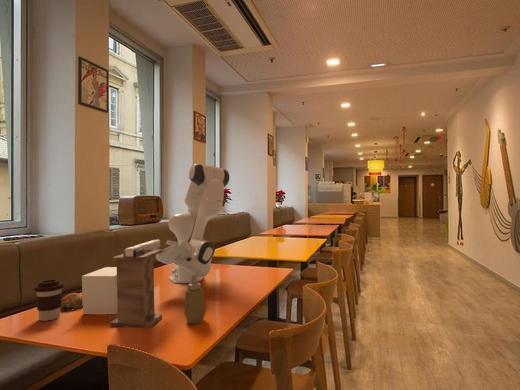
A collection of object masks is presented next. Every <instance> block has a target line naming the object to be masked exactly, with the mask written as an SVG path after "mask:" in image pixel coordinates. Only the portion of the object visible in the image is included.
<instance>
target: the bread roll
mask: <svg viewBox="0 0 520 390" xmlns="http://www.w3.org/2000/svg"><path fill="white" fill-rule="evenodd" d="M82 306H83V302H82V295H81V294H79V293H77V292H73V293H68V294H66V295H65V296H62V300H61V307H60V311H64V310H68V311H73V310H72V309H74V310H77V308H78V309H80V308H83V307H82Z"/></svg>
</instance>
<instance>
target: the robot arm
mask: <svg viewBox="0 0 520 390" xmlns="http://www.w3.org/2000/svg"><path fill="white" fill-rule="evenodd" d="M188 177H189V180H190V183H189V185H188V188H187V192H186V196H185V199H184V203H185V205H186V206H187V208H188V209H187V212H179V213H175V214H173V215H171V216H170V217H169V219H168V221H167V225H168V228H169V230H170V231H171V232H172V233H173V234H174V235H175V237H176V239H177V241H174V240H171V239H168V240H166V241H165V244H166V245H168V246H167V247H166V248H163V249H161V250H162V252H161V253H159V254H157V255H155V260H156V261H158V262H161V263H163V264H166V265H169V264H170V265H171V264H173V263H174V266H173V268H172V269H171V275H169V276H168V280H170V281H171V282H172V283H174V284H190V283H191V281H192V275H193V274H196V278H197V282H198V283H199V282H201V281H202V280H203V279H204V278H205V277H206V276H207V275H208V274H210V272H211V269H212V265H211V264H212V263H211V262H212V259H213V256H214V255H215V251H216V246H215V245H214V244H213V242H211V241H208V240H206V239H204V233H205V230H206V226H207V224H208V222H209V220H211V219H213V218H215V217H217V216H219V214H221V211H222V208H223V202H224V195H225V187H227V185H228V184H229V181H230V173H229V171H228V170H227V169H224V168H220V167H218V166H214V165H209V164H202V163H194V164H192V165H191V166H190V169H189V172H188ZM153 250H160V247H158V248H155V249H153Z"/></svg>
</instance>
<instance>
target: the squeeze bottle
mask: <svg viewBox="0 0 520 390" xmlns="http://www.w3.org/2000/svg"><path fill="white" fill-rule="evenodd" d="M187 284H188V288H187V290H186V292H185V299H184V300H185V301H184V312H183V313H184V316H185V319H186V321H187V323H188V324H190V325H193V324H194V325H195V324H200V323H202V322H203V321H204V319H205V317H206V316H205V315H206V312H207V311H206V303H205V302H206V301H205V295H204V294H205V293H204V290H203V288H202V287H201V283H200V282H199V281H198V282H197V278H196V274H193V275H192V281H191V283H187Z"/></svg>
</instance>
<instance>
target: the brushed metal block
mask: <svg viewBox="0 0 520 390" xmlns="http://www.w3.org/2000/svg"><path fill="white" fill-rule="evenodd" d="M158 247H159V248H161V239H152V240H150V241H146V242H143V243H139V244H136V245H134V246H130V247H127V248H124V249H125V250H124V251H125V257H134V256H136V251H137V250H140V249H145V252H147V251H150V250H153V249H155V248H158Z"/></svg>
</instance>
